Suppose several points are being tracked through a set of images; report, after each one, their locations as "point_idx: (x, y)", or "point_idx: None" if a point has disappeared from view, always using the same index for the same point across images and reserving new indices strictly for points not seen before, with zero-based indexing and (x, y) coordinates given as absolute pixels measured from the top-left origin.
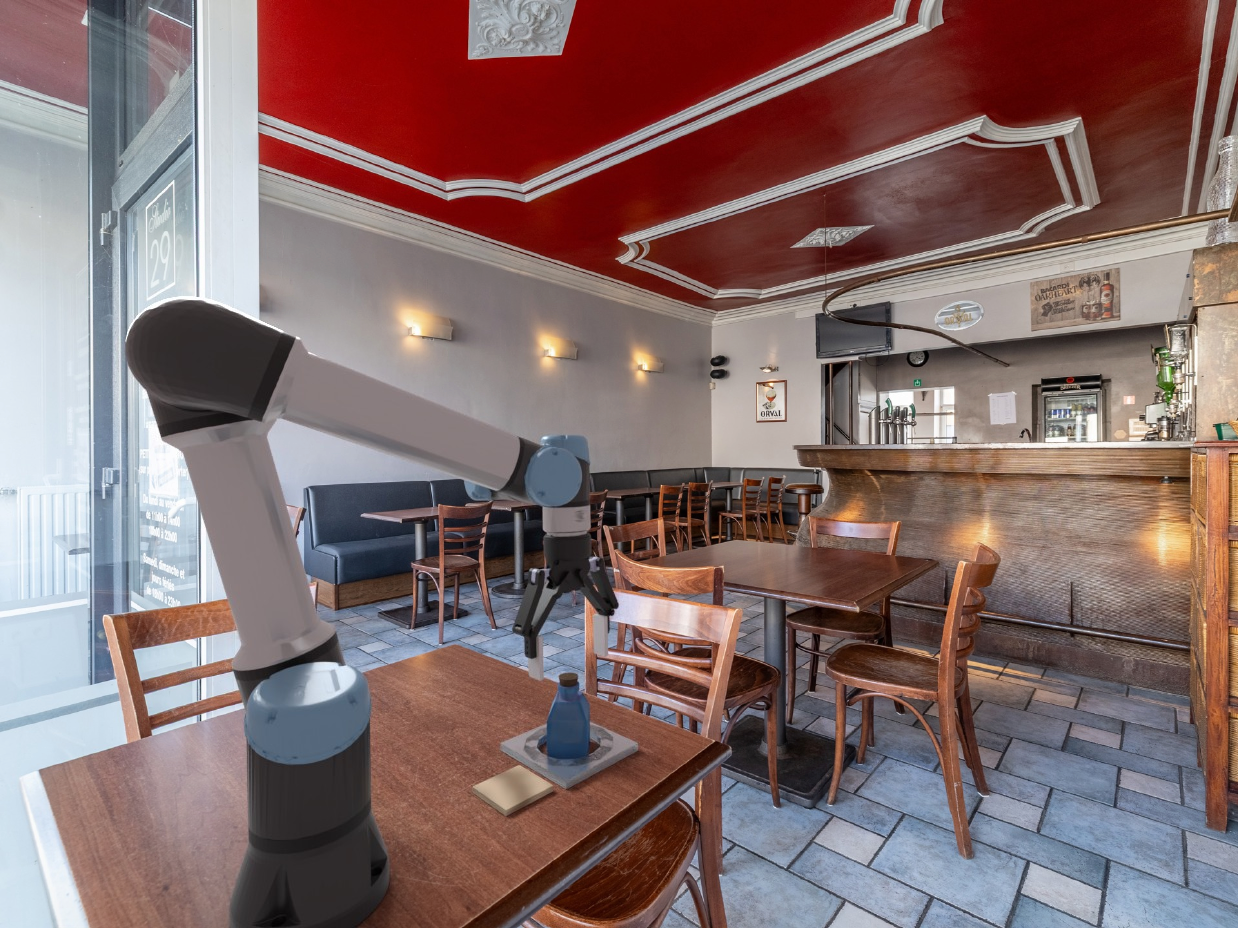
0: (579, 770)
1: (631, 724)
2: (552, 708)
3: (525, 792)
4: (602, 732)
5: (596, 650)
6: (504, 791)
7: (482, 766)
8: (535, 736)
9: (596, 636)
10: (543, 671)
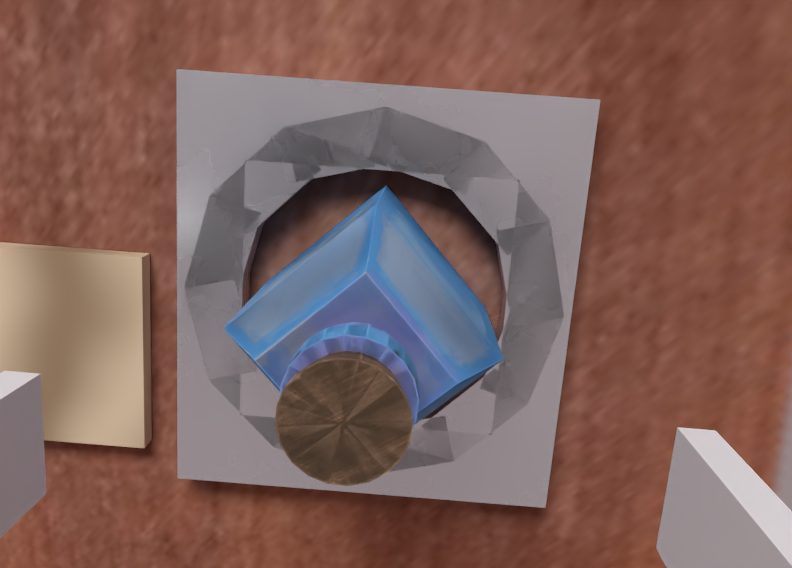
0: (254, 468)
1: (711, 345)
2: (245, 350)
3: (52, 408)
4: (530, 348)
5: (679, 474)
6: (4, 350)
7: (65, 119)
8: (319, 147)
9: (732, 551)
10: (13, 524)
